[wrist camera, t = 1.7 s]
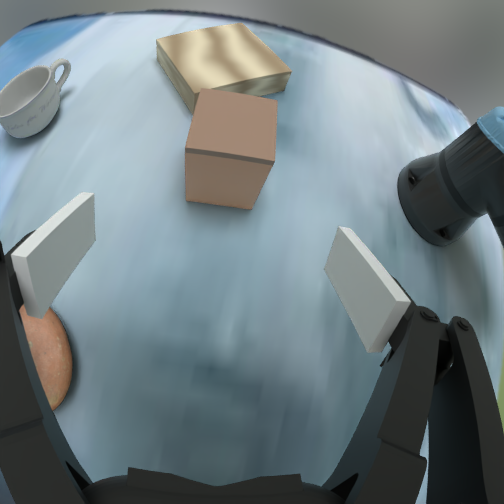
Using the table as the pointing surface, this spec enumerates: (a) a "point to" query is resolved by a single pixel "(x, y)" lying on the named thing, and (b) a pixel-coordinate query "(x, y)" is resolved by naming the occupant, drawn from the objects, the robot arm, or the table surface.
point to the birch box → (221, 63)
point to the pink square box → (229, 148)
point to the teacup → (32, 99)
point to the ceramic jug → (49, 354)
